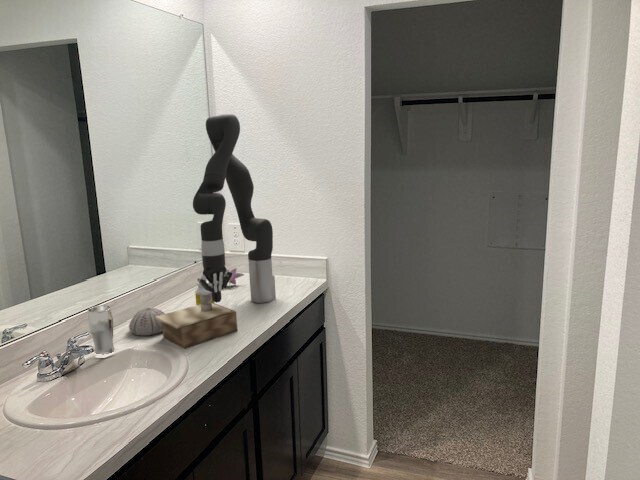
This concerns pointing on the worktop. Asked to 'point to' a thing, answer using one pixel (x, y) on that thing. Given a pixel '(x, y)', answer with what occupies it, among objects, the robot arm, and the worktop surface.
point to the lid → (193, 313)
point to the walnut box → (201, 330)
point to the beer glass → (101, 328)
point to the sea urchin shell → (146, 322)
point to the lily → (234, 276)
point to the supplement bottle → (201, 292)
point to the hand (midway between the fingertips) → (217, 301)
